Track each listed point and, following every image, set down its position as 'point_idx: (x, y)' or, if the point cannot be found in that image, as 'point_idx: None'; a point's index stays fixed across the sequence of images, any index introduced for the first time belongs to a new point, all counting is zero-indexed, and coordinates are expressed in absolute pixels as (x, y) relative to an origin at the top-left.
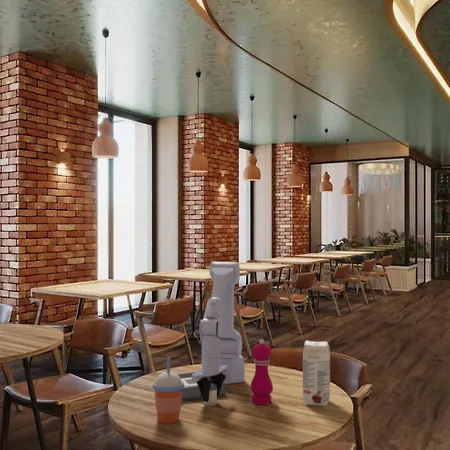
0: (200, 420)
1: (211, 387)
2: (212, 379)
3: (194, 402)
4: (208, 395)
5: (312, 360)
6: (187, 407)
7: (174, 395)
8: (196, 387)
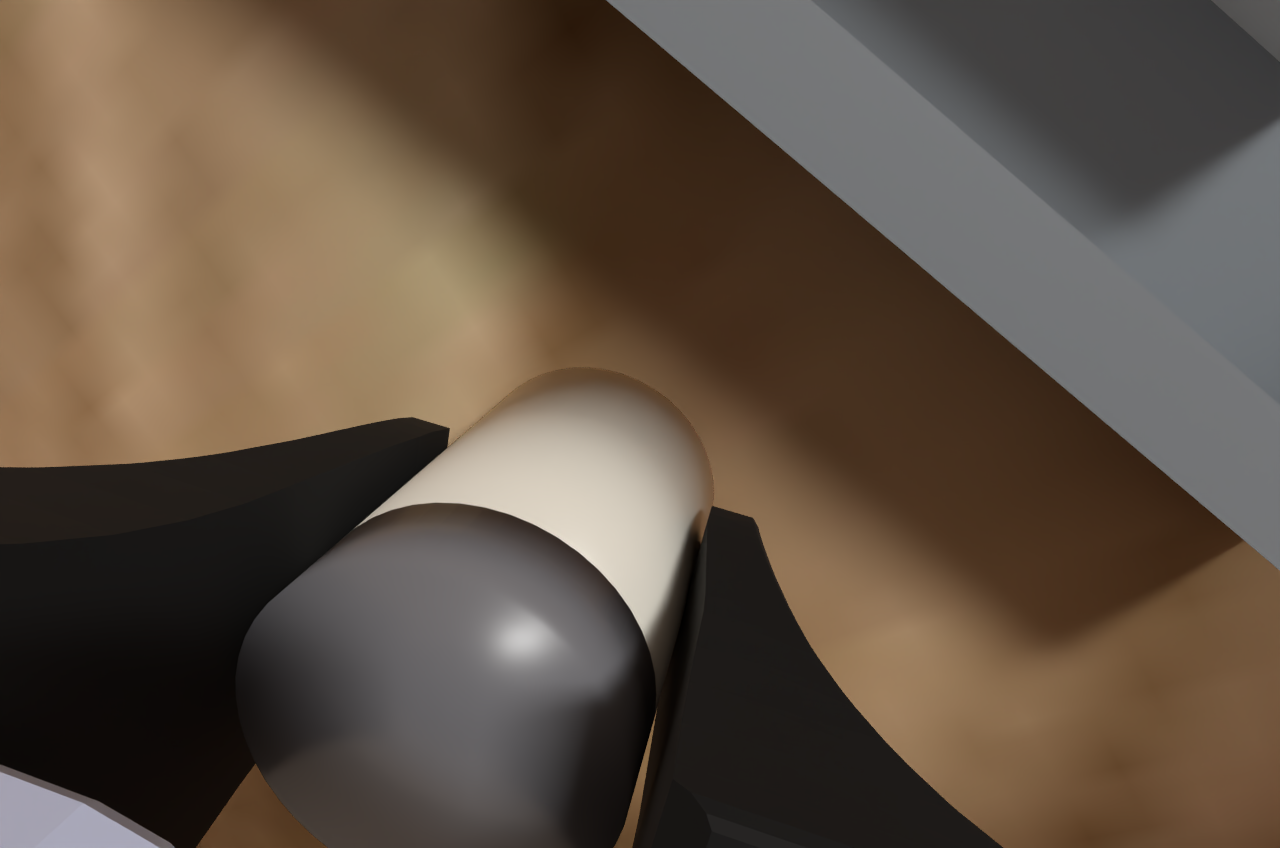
0: None
1: (318, 806)
2: (656, 805)
3: (475, 165)
4: None
5: None
6: (198, 203)
7: None
8: (636, 22)
